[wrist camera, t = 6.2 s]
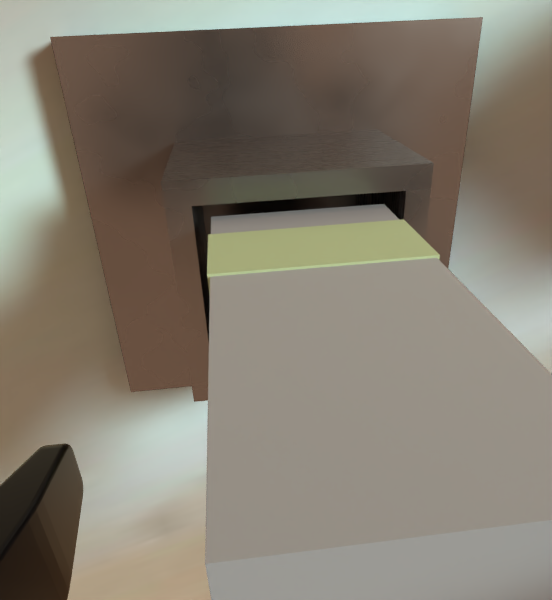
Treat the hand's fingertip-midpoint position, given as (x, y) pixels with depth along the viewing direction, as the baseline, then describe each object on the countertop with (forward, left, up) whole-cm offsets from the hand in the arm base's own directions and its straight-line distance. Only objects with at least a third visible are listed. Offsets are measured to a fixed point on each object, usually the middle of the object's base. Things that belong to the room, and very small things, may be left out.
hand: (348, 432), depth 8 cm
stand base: (0, 0, -10) cm, 10 cm away
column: (0, 0, -5) cm, 5 cm away
